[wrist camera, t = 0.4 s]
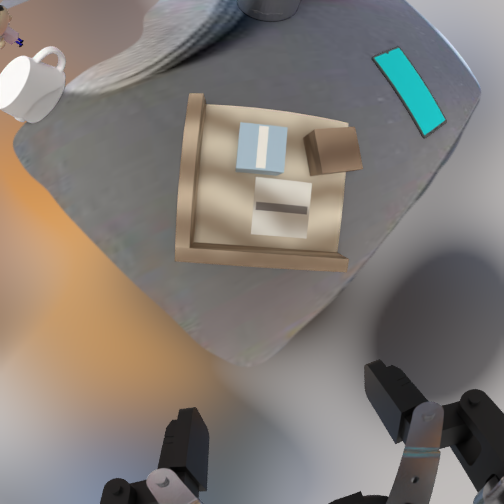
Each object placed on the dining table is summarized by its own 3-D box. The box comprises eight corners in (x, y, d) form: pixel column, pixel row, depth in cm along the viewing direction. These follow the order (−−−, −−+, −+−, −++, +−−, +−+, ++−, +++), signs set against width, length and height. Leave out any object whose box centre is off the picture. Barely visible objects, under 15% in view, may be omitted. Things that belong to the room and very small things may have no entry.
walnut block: (302, 137, 33) (314, 129, 28) (339, 134, 33) (354, 126, 28) (310, 176, 34) (322, 173, 29) (345, 171, 34) (362, 169, 29)
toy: (14, 37, 24) (-27, 12, 10) (38, 20, 24) (-2, -11, 10) (9, 68, 26) (-39, 46, 11) (33, 50, 26) (-14, 21, 12)
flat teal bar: (425, 138, 34) (371, 56, 31) (421, 139, 35) (369, 58, 32) (447, 121, 34) (399, 45, 31) (444, 122, 35) (396, 47, 32)
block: (239, 132, 32) (240, 122, 27) (279, 136, 32) (287, 127, 27) (235, 172, 33) (236, 167, 28) (276, 175, 33) (284, 172, 28)
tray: (194, 106, 32) (189, 93, 27) (344, 125, 34) (360, 115, 29) (182, 252, 36) (174, 261, 31) (332, 262, 37) (346, 272, 32)
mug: (-1, 124, 21) (-16, 98, 20) (36, 133, 30) (18, 109, 29) (55, 48, 20) (34, 30, 18) (85, 71, 29) (63, 52, 28)
